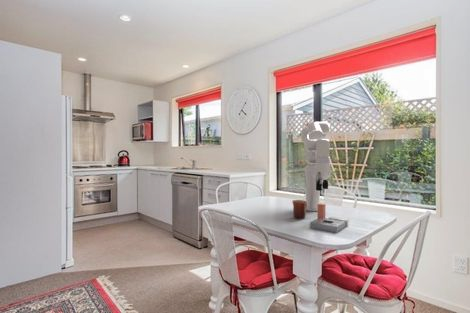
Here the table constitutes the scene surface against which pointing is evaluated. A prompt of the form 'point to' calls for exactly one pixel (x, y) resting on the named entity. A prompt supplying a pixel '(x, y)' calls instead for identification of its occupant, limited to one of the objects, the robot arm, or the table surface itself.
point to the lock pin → (321, 210)
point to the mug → (299, 209)
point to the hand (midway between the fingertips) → (322, 189)
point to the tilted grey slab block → (340, 220)
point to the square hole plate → (328, 224)
